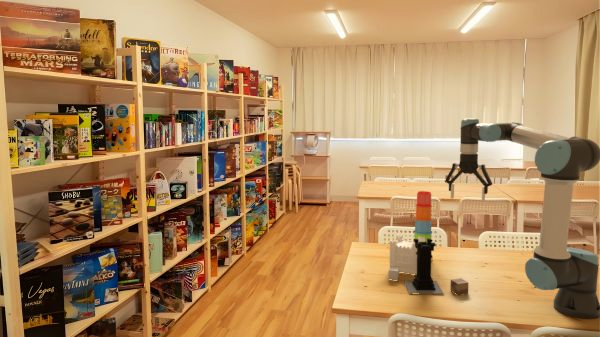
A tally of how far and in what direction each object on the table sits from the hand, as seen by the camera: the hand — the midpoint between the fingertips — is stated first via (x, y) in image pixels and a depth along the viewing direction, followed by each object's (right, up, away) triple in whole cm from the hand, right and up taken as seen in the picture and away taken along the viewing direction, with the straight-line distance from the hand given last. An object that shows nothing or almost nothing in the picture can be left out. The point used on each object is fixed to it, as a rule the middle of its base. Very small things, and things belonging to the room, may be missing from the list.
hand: (467, 199), depth 202 cm
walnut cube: (-10, -38, -18) cm, 43 cm away
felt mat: (-24, -37, -13) cm, 46 cm away
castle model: (-25, -34, +10) cm, 44 cm away
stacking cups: (-14, -32, +24) cm, 43 cm away
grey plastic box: (-34, -36, -2) cm, 49 cm away
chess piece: (-24, -37, -13) cm, 45 cm away
